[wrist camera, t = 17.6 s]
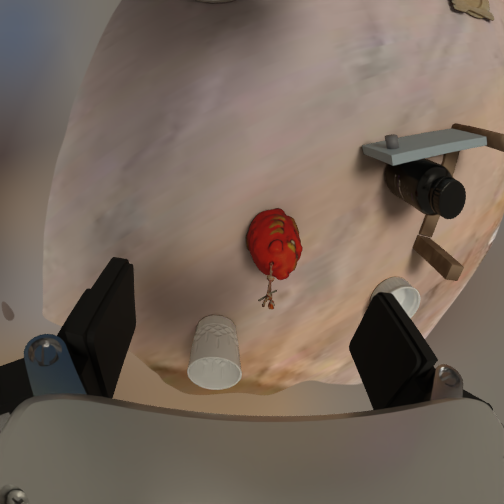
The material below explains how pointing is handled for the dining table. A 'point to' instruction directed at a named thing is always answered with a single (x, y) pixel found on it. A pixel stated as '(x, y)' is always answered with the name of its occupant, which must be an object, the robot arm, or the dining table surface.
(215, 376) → the white cup
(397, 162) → the door
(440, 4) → the dining table surface
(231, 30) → the dining table surface
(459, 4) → the tableware set
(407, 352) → the robot arm
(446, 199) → the supplement bottle
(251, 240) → the red clay folk toy
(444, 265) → the door frame
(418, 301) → the ramekin
